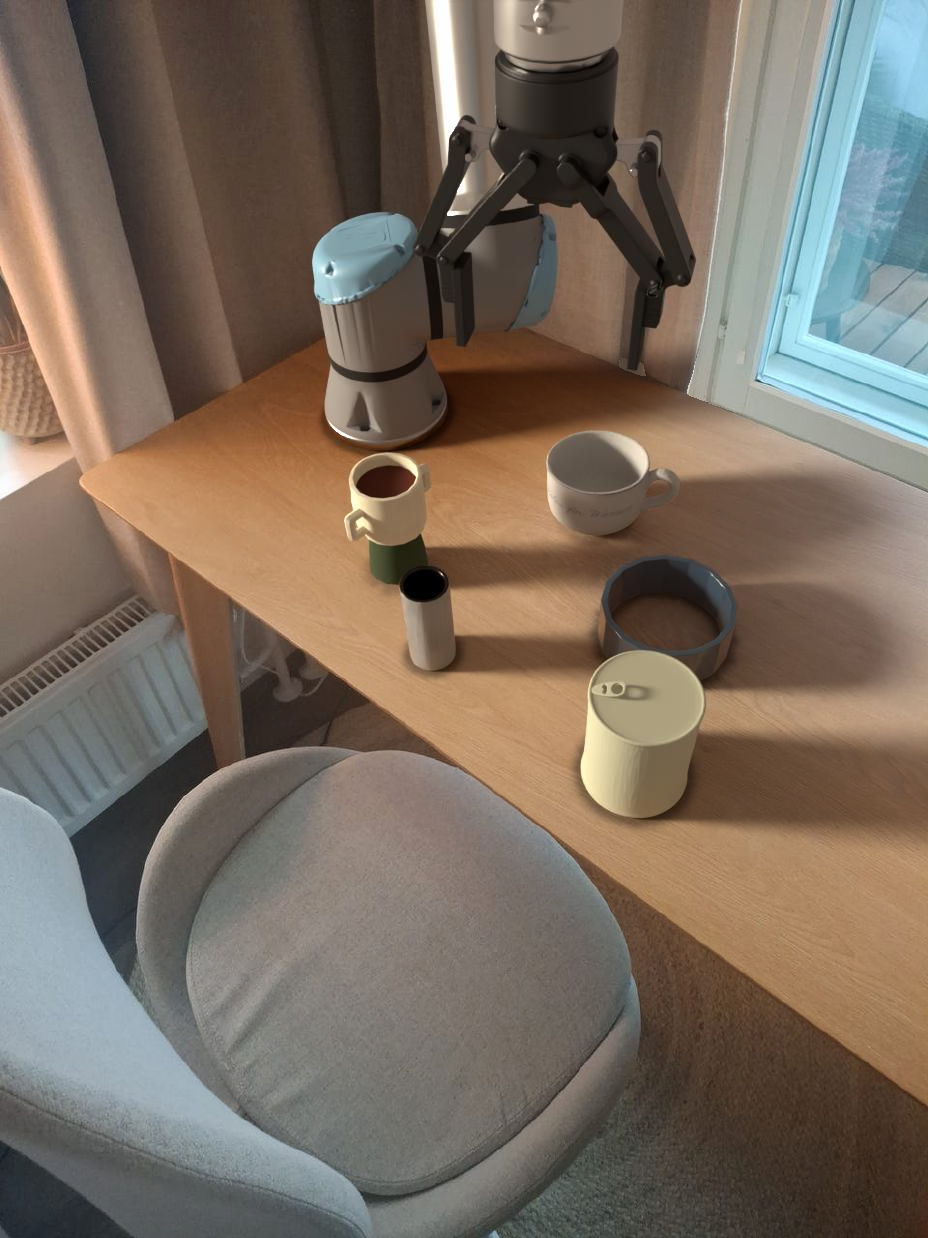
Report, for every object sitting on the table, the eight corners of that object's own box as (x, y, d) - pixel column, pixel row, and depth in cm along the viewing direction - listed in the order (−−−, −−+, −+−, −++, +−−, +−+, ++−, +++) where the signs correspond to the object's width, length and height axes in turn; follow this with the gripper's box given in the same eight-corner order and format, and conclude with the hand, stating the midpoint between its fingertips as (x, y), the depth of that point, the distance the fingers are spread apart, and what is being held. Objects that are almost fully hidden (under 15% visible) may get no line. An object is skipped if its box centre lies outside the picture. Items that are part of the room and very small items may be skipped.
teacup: (529, 531, 99) (529, 476, 93) (568, 471, 105) (571, 415, 99) (650, 571, 95) (659, 515, 88) (684, 505, 100) (695, 449, 94)
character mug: (414, 525, 101) (401, 432, 91) (459, 556, 97) (451, 463, 87) (339, 579, 96) (317, 487, 86) (383, 614, 93) (366, 522, 83)
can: (585, 721, 83) (592, 639, 74) (687, 732, 82) (708, 651, 73) (575, 811, 77) (582, 735, 68) (686, 825, 76) (707, 750, 67)
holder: (575, 618, 91) (577, 585, 87) (676, 572, 94) (682, 538, 90) (647, 708, 84) (652, 676, 80) (754, 654, 87) (765, 621, 83)
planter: (400, 655, 89) (388, 585, 81) (432, 627, 91) (423, 557, 83) (433, 679, 87) (424, 610, 79) (465, 650, 89) (459, 580, 81)
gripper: (341, 59, 55) (383, 354, 72) (763, 87, 50) (703, 400, 66) (383, 12, 60) (414, 301, 76) (775, 34, 54) (716, 340, 71)
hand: (548, 348), depth 71 cm, fingers open, 13 cm apart
